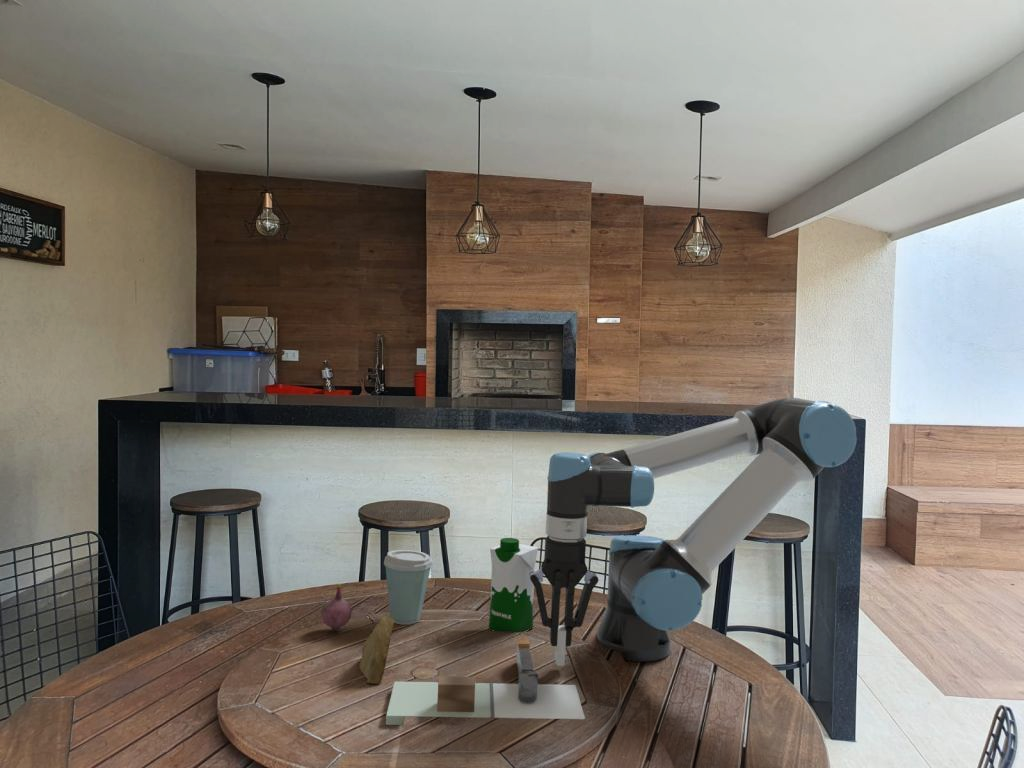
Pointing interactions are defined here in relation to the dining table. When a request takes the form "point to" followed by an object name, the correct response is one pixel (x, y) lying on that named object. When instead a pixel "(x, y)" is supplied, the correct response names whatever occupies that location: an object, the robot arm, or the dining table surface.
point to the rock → (376, 650)
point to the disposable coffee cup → (406, 584)
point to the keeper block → (456, 694)
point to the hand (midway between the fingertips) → (559, 662)
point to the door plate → (485, 702)
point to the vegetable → (336, 611)
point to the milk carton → (512, 586)
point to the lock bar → (526, 672)
